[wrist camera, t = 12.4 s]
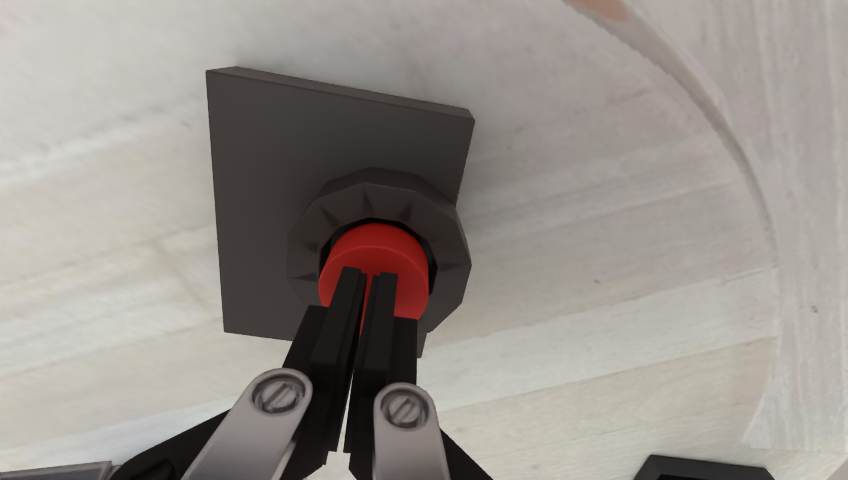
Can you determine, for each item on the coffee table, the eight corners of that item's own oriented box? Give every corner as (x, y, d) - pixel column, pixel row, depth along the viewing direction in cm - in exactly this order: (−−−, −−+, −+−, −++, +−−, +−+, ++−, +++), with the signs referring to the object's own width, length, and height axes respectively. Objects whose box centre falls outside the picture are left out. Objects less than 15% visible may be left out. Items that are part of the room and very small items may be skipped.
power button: (333, 214, 13) (320, 237, 12) (436, 231, 14) (438, 255, 12) (326, 299, 15) (314, 330, 13) (419, 313, 15) (418, 344, 14)
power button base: (233, 65, 15) (172, 73, 11) (487, 112, 15) (506, 134, 12) (243, 303, 20) (202, 362, 16) (435, 330, 20) (438, 391, 17)
